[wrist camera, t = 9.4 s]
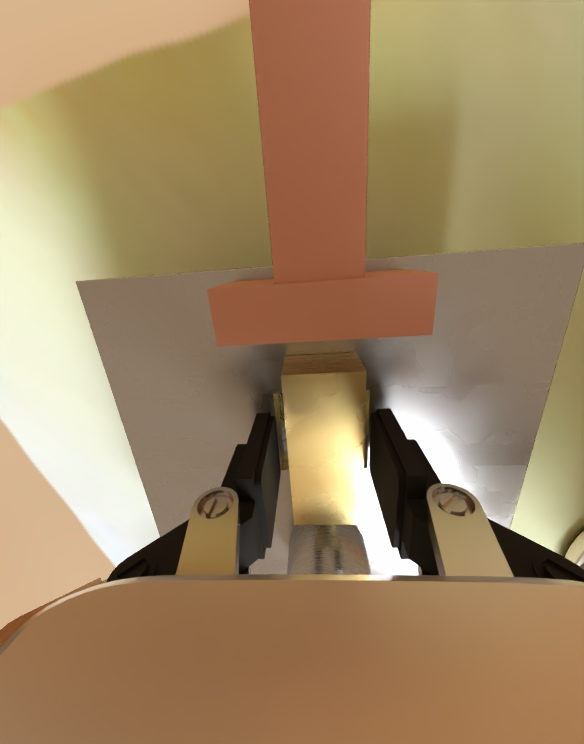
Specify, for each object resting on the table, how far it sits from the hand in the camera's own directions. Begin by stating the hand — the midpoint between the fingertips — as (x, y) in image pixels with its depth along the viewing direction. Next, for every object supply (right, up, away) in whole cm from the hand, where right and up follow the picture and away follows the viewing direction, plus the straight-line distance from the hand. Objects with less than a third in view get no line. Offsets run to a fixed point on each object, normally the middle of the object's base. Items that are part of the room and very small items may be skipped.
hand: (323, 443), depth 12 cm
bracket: (-1, +8, -2) cm, 9 cm away
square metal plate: (+1, 0, +9) cm, 9 cm away
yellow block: (0, +3, +6) cm, 7 cm away
